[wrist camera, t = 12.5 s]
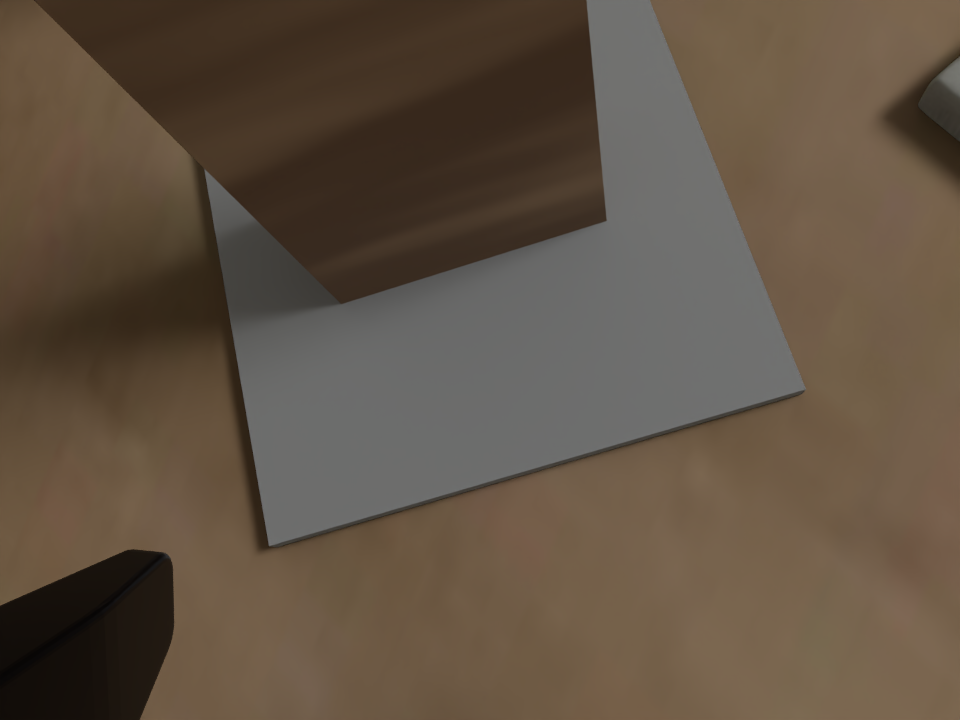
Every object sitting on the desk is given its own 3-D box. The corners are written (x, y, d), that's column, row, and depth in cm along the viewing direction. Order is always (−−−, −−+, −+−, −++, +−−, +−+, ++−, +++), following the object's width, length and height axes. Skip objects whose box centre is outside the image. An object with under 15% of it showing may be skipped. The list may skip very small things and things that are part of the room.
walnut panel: (607, 220, 19) (543, -469, 7) (341, 303, 20) (-154, -186, 7) (570, 112, 20) (457, -664, 8) (318, 195, 21) (-155, -398, 8)
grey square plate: (801, 394, 18) (805, 388, 17) (276, 547, 19) (268, 546, 18) (628, -41, 21) (629, -52, 21) (200, 110, 23) (192, 102, 22)
